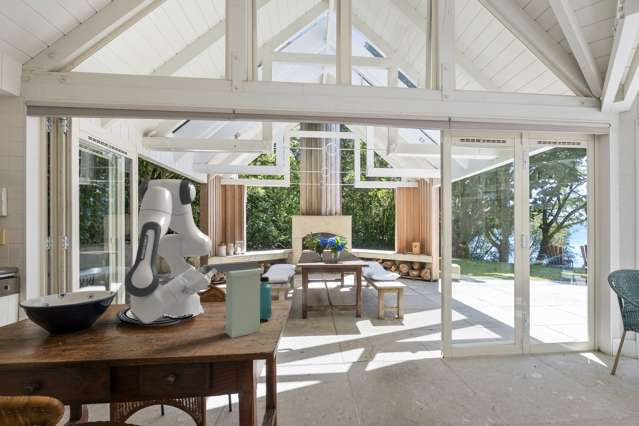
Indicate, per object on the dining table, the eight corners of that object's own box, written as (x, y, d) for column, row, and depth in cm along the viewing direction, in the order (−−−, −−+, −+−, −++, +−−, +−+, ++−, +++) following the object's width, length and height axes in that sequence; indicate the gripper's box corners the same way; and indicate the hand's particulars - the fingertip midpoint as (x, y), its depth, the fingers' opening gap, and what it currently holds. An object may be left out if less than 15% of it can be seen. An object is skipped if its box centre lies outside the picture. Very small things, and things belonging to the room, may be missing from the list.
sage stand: (230, 339, 126) (230, 272, 127) (222, 332, 134) (223, 269, 134) (263, 331, 135) (263, 269, 135) (253, 325, 142) (254, 266, 142)
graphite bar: (205, 273, 124) (205, 265, 124) (202, 272, 126) (203, 264, 126) (258, 268, 137) (258, 261, 137) (255, 267, 139) (255, 260, 139)
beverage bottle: (268, 322, 146) (269, 278, 146) (254, 321, 147) (255, 277, 147) (273, 318, 152) (274, 275, 153) (260, 317, 154) (260, 275, 154)
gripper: (181, 288, 110) (216, 264, 117) (169, 278, 127) (200, 258, 134) (190, 302, 112) (225, 279, 119) (177, 291, 129) (208, 270, 136)
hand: (211, 268), depth 127 cm, fingers open, 8 cm apart
